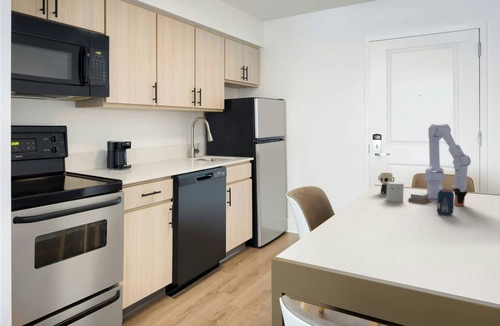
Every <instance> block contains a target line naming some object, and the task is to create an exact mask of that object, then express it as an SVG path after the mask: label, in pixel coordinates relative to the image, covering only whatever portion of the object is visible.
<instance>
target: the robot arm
mask: <svg viewBox="0 0 500 326" xmlns="http://www.w3.org/2000/svg"><path fill="white" fill-rule="evenodd" d="M451 132H452V128H451V127H450V125H449V124H447V123H444V124H443V123H442V124H441V123H440V124H439V123H437V124H435V123H433V124H430V126H429V127H428V132H427V133H428V149H429V150H428V151H429V154H428V155H429V167H428V168H427V169H425V173H424V180H425V182H426V183H427V186H426V194H428V198H431V199H437V200H438V192H439V190H441V189H443V185H442V183H443V182H444V181H445V178H446V177H445V173H444V169H443V168H442V167H441V164H440V163H441V161H440V160H441V159H440V140H441V139H443V140H444V142H445V143H446V144H447V146H448V152H449V153H450V155H451V158H452V159H453V160H452V164H453V168H454V181H453V184H454V185H453V184H452V185H451V188H452V191H453V193H454V196H455V195H457V202H458V204H463V201H464V202H465V200H464V198H465V197H466V196H467V194H468V191H466V189H467V187H468V186H467V181H468V168H469V166H470V165H471V162H472V161H471V157H470V156H469V155H467V154H466V153H464V150H462V147H461V146H460V145H459V144H456V142H455V140H454V137H453V136H452V134H451Z"/></svg>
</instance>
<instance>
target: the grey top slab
mask: <svg viewBox="0 0 500 326" xmlns="http://www.w3.org/2000/svg"><path fill="white" fill-rule="evenodd" d="M410 198H412V199H419V200H425V199H427V198H428V194H427V193H424V192H423V193H422V192H416V191H415V192H412V193H410Z"/></svg>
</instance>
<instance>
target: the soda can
mask: <svg viewBox="0 0 500 326" xmlns="http://www.w3.org/2000/svg"><path fill="white" fill-rule="evenodd" d="M454 196H455V193H454V191H453V189H452V190H451V189H445V188H442V189H441V190H439V192H438V199H437V202H436V203H437V204H436V205H437V206H436V212H437V215H440V216H446V217H450V216H453V214H454Z"/></svg>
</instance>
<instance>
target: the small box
mask: <svg viewBox="0 0 500 326" xmlns="http://www.w3.org/2000/svg"><path fill="white" fill-rule="evenodd" d="M404 186H405V185H404V183H403V182H400V181H398V182H397V181H396V182H395V181H394V182H387V194H386V197H385V198H386V201H388V202H392V203H393V202H394V203H395V202H399V203H401V202H403V203H404Z"/></svg>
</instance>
